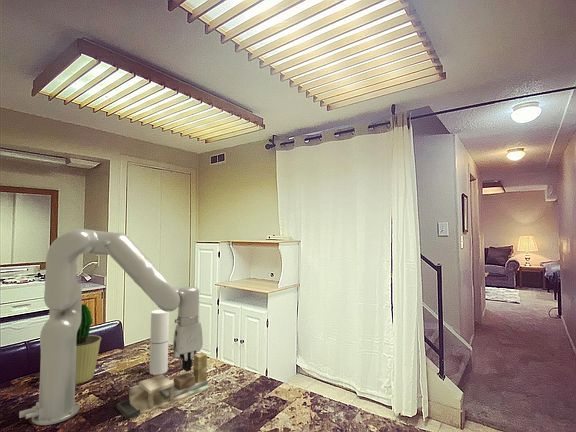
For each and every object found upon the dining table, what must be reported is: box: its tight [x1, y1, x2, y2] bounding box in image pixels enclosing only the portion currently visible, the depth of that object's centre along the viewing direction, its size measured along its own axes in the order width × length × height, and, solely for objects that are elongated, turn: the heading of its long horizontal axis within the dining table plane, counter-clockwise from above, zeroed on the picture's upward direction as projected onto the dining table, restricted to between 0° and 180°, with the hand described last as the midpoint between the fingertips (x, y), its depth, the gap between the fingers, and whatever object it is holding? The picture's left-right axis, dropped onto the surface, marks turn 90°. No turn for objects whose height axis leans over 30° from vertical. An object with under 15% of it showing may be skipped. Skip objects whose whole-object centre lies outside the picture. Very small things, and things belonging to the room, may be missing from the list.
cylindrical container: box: [149, 309, 170, 376], centre depth 141 cm, size 7×7×25 cm
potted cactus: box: [75, 303, 102, 385], centre depth 134 cm, size 15×15×30 cm
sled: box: [160, 352, 209, 399], centre depth 123 cm, size 16×6×11 cm, turn 136°
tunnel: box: [116, 374, 211, 420], centre depth 118 cm, size 30×10×6 cm, turn 136°
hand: (187, 369), depth 124 cm, fingers closed
